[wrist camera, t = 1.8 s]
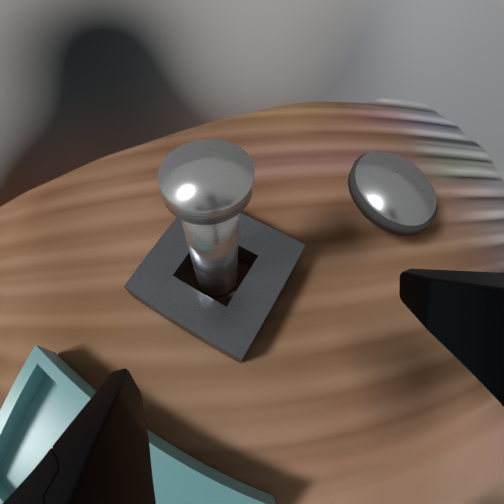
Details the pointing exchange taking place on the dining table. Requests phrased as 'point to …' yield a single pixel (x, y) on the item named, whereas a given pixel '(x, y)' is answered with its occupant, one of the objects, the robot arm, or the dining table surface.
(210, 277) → the pin
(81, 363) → the dining table surface
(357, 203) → the silver round knob
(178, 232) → the pin collar
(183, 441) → the dining table surface
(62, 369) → the tray
